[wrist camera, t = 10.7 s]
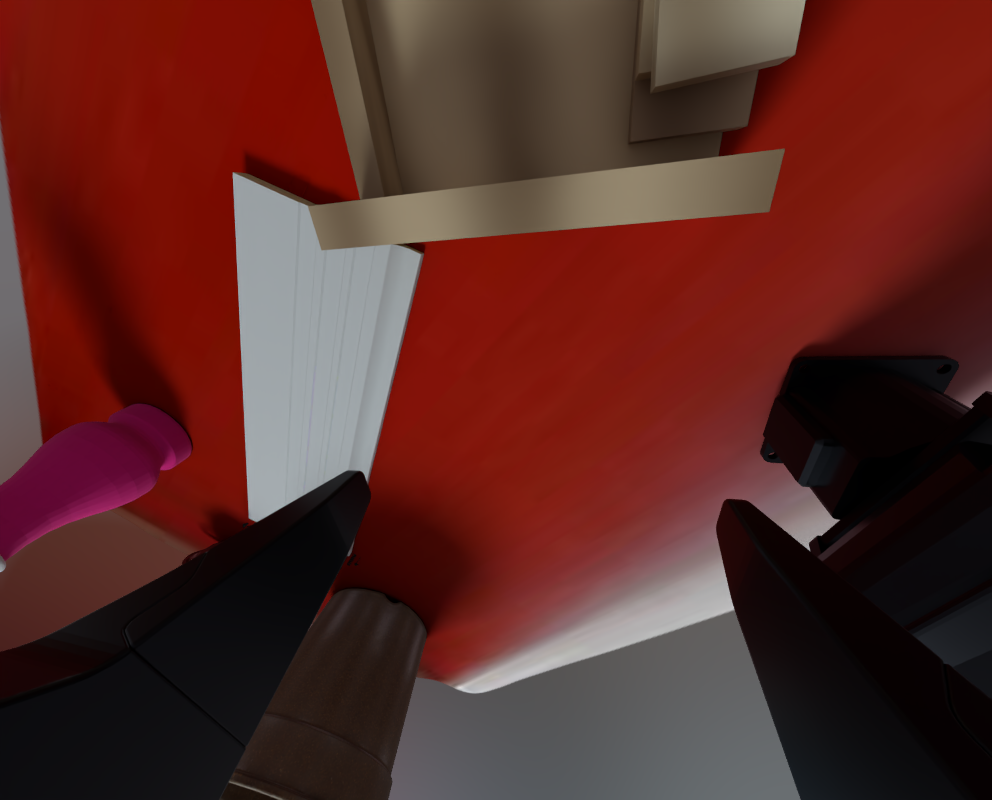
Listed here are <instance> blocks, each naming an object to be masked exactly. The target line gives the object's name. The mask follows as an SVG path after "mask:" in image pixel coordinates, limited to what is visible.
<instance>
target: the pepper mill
mask: <svg viewBox="0 0 992 800" xmlns="http://www.w3.org/2000/svg"><path fill="white" fill-rule="evenodd" d="M191 450H192V445H191V441H190V439H189V437H188V435H187V433H186V432H185V431H184V429H183V428H182V427H181V426H180V425H179V423H177V422H176V421H175V420H174V419H173V418H172V417H171V416H169V415H168V414H166V413H165V412H163V411H162V410H160V409H158V408H156V407H153V406H151V405H148V404H141V403H140V404H133V405H131V406H128V407H126V408H124V409H122V410H120V411H118V412H116V413H114V414H112V415H111V416H110V418H109V421H108V422H83V423H79V424H76V425H73V426H71V427H69V428H67V429H65V430H64V431H62V432H60V433H58V434H56V435H55V436H54V437H52V438H51V439H50V440H49V441H47V442H46V443H45V444H44V445H42V446H41V447H40V448H39V449H38V450H37V451H36V452H35V453H34V455H33V456H32V457H31V458H30V459H29V460H28V461H27V462H26V463H25V464H24V466H22V467H21V468H20V469H19V470H18V471H17V472H16V473H15V474H14V475H13V476H12V477H11V478H10V479H8V480H7V481H6V482H4V483H3V484H2V485H0V572H1V571H3V570H4V569H5V568H6V563H5V561H6V560H7V559H8V558H10V557H11V556H12V555H14V554H15V553H16V552H18V551H19V550H20V549H22V548H23V547H24V546H26V545H27V544H29V543H31V542H32V541H34V540H36V539H37V538H39V537H40V536H42V535H44V534H46V533H47V532H49V531H52V530H54V529H56V528H58V527H60V526H63V525H65V524H67V523H70V522H73V521H76V520H78V519H81V518H84V517H87V516H90V515H94V514H97V513H101V512H104V511H107V510H111V509H114V508H117V507H119V506H121V505H124V504H126V503H129V502H131V501H133V500H135V499H137V498H138V497H140V496H142V495H143V494H145V493H147V492H148V491H150V490H151V489H152V488H153V487H154V485H155V484H156V482H157V480H158V477H159V473H160V470H168V469H171V468H173V467H174V466H176V465H177V464H179V463H180V462H182V461H183V460H185V459H186V458H188V457H189V456H190V454H191Z"/></svg>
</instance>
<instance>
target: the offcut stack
mask: <svg viewBox="0 0 992 800" xmlns="http://www.w3.org/2000/svg"><path fill="white" fill-rule="evenodd" d="M805 1H806V0H638V7H637V21H636V35H635V49H634V63H633V77H632V91H631V105H630V119H629V133H628V144H636V143H643V142H651V141H658V140H665V139H673V138H680V137H688V136H695V135H703V134H710V133H717V132H725V131H732V130H738V129H741V128H743V127H746V126H747V125H748V120H749V115H750V110H751V105H752V100H753V96H754V91H755V86H756V81H757V76H758V71H759V69H763V68H767V67H772V66H776V65H780V64H781V63H783V62H784V61H786V60H788V59H789V58H791V57H792V56H794V55H795V52H796V47H797V42H798V37H799V31H800V26H801V21H802V16H803V11H804V6H805Z"/></svg>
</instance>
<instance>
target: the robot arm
mask: <svg viewBox="0 0 992 800" xmlns="http://www.w3.org/2000/svg"><path fill="white" fill-rule="evenodd" d="M806 364H807V366H806V368H805V369H803V370H799V368H800V367H801V366H803V365H806ZM942 365H944V366H943V367H942V368H941V369H939V370H937V369H938V368H939V367H940V366H942ZM958 367H959V364H958V362H957V361H955V360H953V359H951V358H949V357H946V356H824V357H799V358H797V359H795V360H794V361H793V362H791V364H790V366H789V369H788V372H787V375H786V378H785V381H784V383H783V386H782V389H781V392H780V395H779V396H777V397H776V398H775V400H774V403H773V406H772V409H771V412H770V415H769V418H768V421H767V424H766V427H765V430H764V433H763V436H764V437H765V439H764V442H763V445H762V448H761V451H760V454H761V456H762V457H763V459H764V460H765V461H767V462H771V463H784V465H785V466H786V468H787V469H788V470H789V472H790V473H791V474H792V476H793V477H794V478H795V480H796V481H797V482H798V483H799V484H800V485H801V486H802V487H810V488H811V490H812V491H813V492H814V494H815V495H816V496H817V498H818V499H819V500H820V502H821V503H822V504H823V506H824V507H825V508H826V510H827V511H828V512H829V513H830V515H831V516H832V517H833V518H834V519H838V520H840V521H838V522H837V523H836V524H835V525H834V526H833V527H831V528H830V529H829V530H828V531H827V532H825V533H824V534H823V535H822V536H816V537H815V538H814V539H813V540H812V541H811V542H809V547H810V551H811V552H810V551H809V550H808V549H807V548H805V547H804V546H803V545H802V544H800V543H799V542H798V541H797V540H795V539H794V538H793V537H792V536H791V535H789V534H788V533H787V532H786V531H784V530H783V529H782V528H781V527H780V526H778V525H777V524H776V523H775V522H773V521H772V520H771V519H770V518H768V517H767V516H766V515H765V514H764V513H762V512H761V511H760V510H759V509H757V508H756V507H755V506H754V505H752V504H751V503H750V502H748V501H746V500H738V499H726V500H725V501H724V502H723V505H722V508H721V511H720V515H719V518H718V521H717V525H716V532H717V538H718V542H719V547H720V551H721V555H722V560H723V564H724V569H725V573H726V577H727V582H728V586H729V591H730V595H731V599H732V603H733V606H734V609H735V612H736V615H737V618H738V621H739V624H740V627H741V630H742V633H743V636H744V638H745V641H746V644H747V647H748V650H749V653H750V656H751V658H752V661H753V664H754V667H755V670H756V673H757V675H758V679H759V681H760V684H761V687H762V690H763V693H764V696H765V699H766V701H767V704H768V707H769V710H770V713H771V716H772V719H773V721H774V724H775V727H776V730H777V733H778V736H779V739H780V742H781V744H782V747H783V750H784V753H785V756H786V759H787V762H788V765H789V767H790V770H791V773H792V776H793V779H794V782H795V784H796V787H797V790H798V793H799V796H800V799H801V800H992V392H989V391H986V392H984V393H983V394H982V395H981V396H980V397H979V398H977V399H976V400H975V401H974V402H973V403H972V405H973V406H974V407H973V408H972V409H971V408H969V407H967V406H965V405H964V404H962V403H960V402H958V401H956V400H955V399H953V398H951V397H949V396H948V395H946V394H944V391H945V390H946V388H947V386H948V385H949V383H950V381H951V380H952V378H953V376H954V375H955V373H956V371H957V370H958ZM772 452H775V453H774V454H772V455H769V454H770V453H772ZM370 499H371V492H370V489H369V486H368V484H367V481H366V478H365V475H364V473H363V472H362V471H357V470H347V471H345V472H343V473H341V474H340V475H338V476H336V477H334V478H333V479H331V480H329V481H327V482H326V483H324V484H322V485H320V486H319V487H317V488H315V489H313V490H312V491H310V492H308V493H306V494H305V495H303V496H301V497H300V498H298V499H296V500H294V501H293V502H291V503H289V504H287V505H286V506H284V507H282V508H280V509H279V510H277V511H275V512H273V513H272V514H270V515H268V516H267V517H265V518H263V519H261V520H260V521H258V522H256V523H254V524H253V525H251V526H249V527H247V528H246V529H244V530H242V531H240V532H239V533H237V534H235V535H233V536H232V537H230V538H228V539H227V540H225V541H223V542H221V543H220V544H218V545H216V546H214V547H213V548H211V549H209V550H208V552H204V553H202V554H200V555H199V556H197V557H195V558H193V559H192V560H190V561H188V562H186V563H185V564H183V565H181V566H179V567H178V568H176V569H174V570H172V571H170V572H169V573H167V574H165V575H163V576H161V577H160V578H158V579H156V580H154V581H152V582H150V583H148V584H146V585H144V586H143V587H141V588H139V589H137V590H135V591H133V592H131V593H129V594H127V595H125V596H123V597H122V598H120V599H118V600H116V601H114V602H112V603H110V604H108V605H106V606H104V607H102V608H100V609H98V610H96V611H94V612H92V613H90V614H89V615H87V616H85V617H83V618H81V619H79V620H77V621H75V622H73V623H71V624H69V625H67V626H65V627H63V628H61V629H60V630H58V631H55V632H53V633H51V634H49V635H47V636H45V637H43V638H40V639H38V640H35V641H33V642H30V643H28V644H25V645H22V646H19V647H16V648H12V649H9V650H5V651H1V652H0V800H220V798H221V796H222V794H223V792H224V790H225V788H226V786H227V784H228V783H229V781H230V779H231V777H232V775H233V773H234V771H235V769H236V767H237V765H238V764H239V762H240V760H241V758H242V756H243V754H244V752H245V750H246V746H247V745H248V744H249V742H250V740H251V738H252V736H253V734H254V733H255V731H256V729H257V727H258V725H259V723H260V721H261V719H262V717H263V715H264V713H265V712H266V710H267V708H268V706H269V704H270V702H271V700H272V698H273V696H274V694H275V692H276V691H277V689H278V687H279V685H280V683H281V681H282V679H283V677H284V675H285V673H286V672H287V670H288V668H289V666H290V664H291V662H292V660H293V658H294V656H295V654H296V652H297V651H298V649H299V647H300V645H301V643H302V641H303V639H304V637H305V635H306V633H307V631H308V630H309V628H310V626H311V624H312V622H313V620H314V618H315V616H316V614H317V612H318V610H319V609H320V607H321V605H322V603H323V601H324V599H325V597H326V595H327V593H328V591H329V590H330V588H331V586H332V584H333V582H334V580H335V578H336V576H337V574H338V572H339V570H340V569H341V567H342V565H343V563H344V561H345V559H346V557H347V555H348V553H349V551H350V548H351V546H352V544H353V542H354V539H355V537H356V534H357V532H358V529H359V527H360V524H361V522H362V520H363V517H364V515H365V512H366V510H367V507H368V505H369V502H370Z"/></svg>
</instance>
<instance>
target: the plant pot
mask: <svg viewBox="0 0 992 800" xmlns="http://www.w3.org/2000/svg"><path fill="white" fill-rule="evenodd" d="M426 637H427V633H426V629H425V626H424V624H423V622H422V621H421V619H420V618H419V617H418V616H417V615H416V614H415V613H414V612H413V611H412V610H411V609H410V608H409V607H408V606H406V605H405V604H403V603H402V602H398V603H392V602H390V601H389V600H388V599H387V598H386V596H385V594H383V593H380V592H376V591H371V590H366V589H345V590H341V591H339V592H337V593H336V594H334V595H333V597H332V598H331V599H330V600H329V602H328V603H327V605H326V606H325V608H324V609H323V611H322V612H321V613H320V615H319V616H318V618H317V619H316V620H315V622H314V623H313V625H312V626H311V627H310V629H309V630H308V632H307V633H306V635H305V637H304V639H303V641H302V643H301V645H300V647H299V649H298V651H297V652H296V654H295V656H294V658H293V660H292V662H291V664H290V666H289V668H288V670H287V672H286V673H285V675H284V677H283V679H282V681H281V683H280V685H279V687H278V689H277V691H276V692H275V694H274V696H273V698H272V700H271V702H270V704H269V706H268V708H267V710H266V712H265V713H264V715H263V717H262V719H261V721H260V723H259V725H258V727H257V729H256V731H255V733H254V734H253V736H252V738H251V740H250V742H249V744H248V745H247V746H246V750H245V752H244V754H243V756H242V758H241V760H240V762H239V764H238V765H237V767H236V769H235V771H234V773H233V775H232V777H231V779H230V781H229V783H228V784H227V786H226V788H225V790H224V792H223V794H222V796H221V798H220V800H388V798H389V794H390V790H391V786H392V778H391V772H392V768H393V764H394V760H395V756H396V753H397V749H398V745H399V741H400V737H401V733H402V729H403V725H404V721H405V717H406V714H407V710H408V706H409V702H410V698H411V694H412V690H413V686H414V683H415V679H416V675H417V671H418V667H419V663H420V660H421V656H422V652H423V649H424V645H425V641H426Z"/></svg>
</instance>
